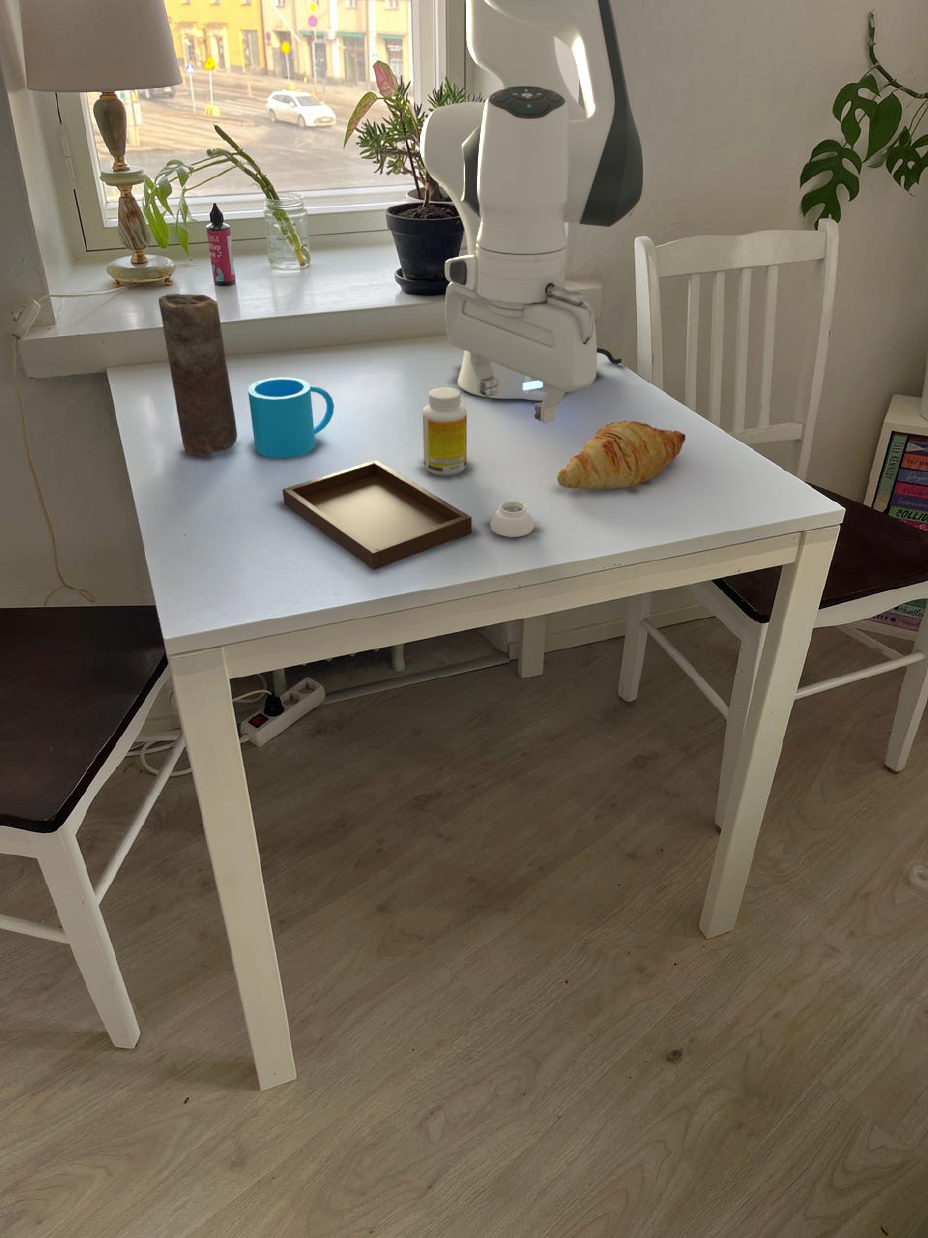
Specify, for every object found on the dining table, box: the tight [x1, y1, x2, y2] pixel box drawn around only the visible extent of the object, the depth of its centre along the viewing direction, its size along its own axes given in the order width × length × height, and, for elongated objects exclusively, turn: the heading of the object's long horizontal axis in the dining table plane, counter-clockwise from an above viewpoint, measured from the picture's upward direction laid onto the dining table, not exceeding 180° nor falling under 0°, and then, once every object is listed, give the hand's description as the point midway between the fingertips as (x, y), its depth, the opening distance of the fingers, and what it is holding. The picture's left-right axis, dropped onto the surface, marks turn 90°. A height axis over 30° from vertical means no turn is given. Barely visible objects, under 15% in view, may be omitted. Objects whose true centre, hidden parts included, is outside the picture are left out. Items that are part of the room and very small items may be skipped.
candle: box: [158, 293, 238, 457], centre depth 126 cm, size 8×7×20 cm
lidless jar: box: [489, 500, 535, 538], centre depth 111 cm, size 5×3×5 cm
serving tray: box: [281, 459, 473, 571], centre depth 114 cm, size 14×20×2 cm
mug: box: [247, 376, 335, 459], centre depth 130 cm, size 12×8×8 cm
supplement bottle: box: [422, 386, 468, 476], centre depth 123 cm, size 6×6×10 cm
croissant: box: [556, 420, 686, 490], centre depth 123 cm, size 21×10×8 cm, turn 126°
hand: (515, 406), depth 104 cm, fingers open, 8 cm apart
